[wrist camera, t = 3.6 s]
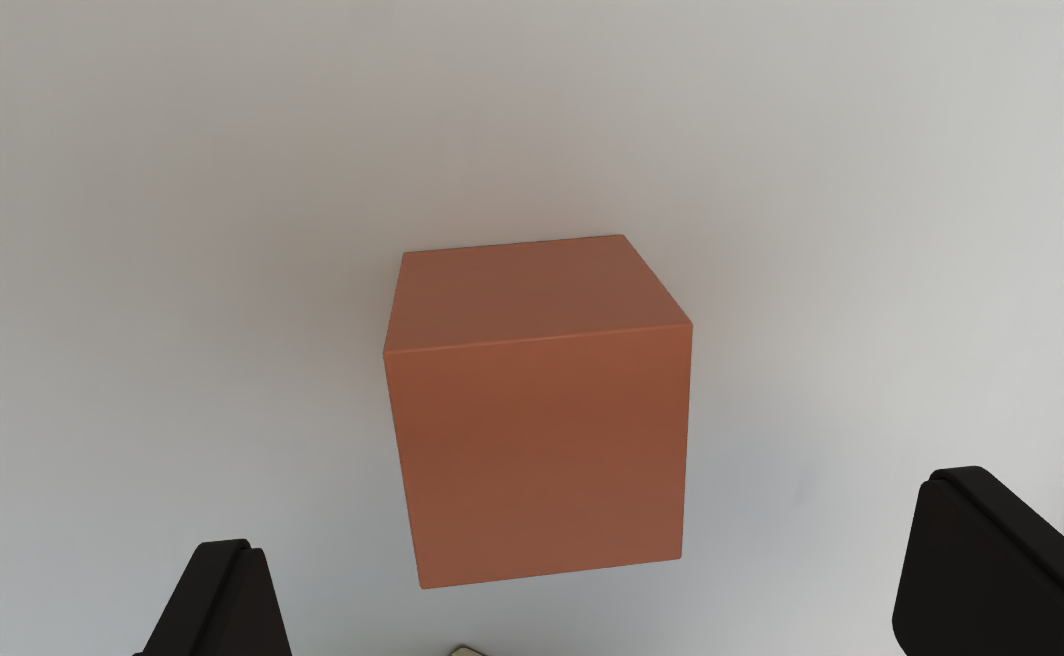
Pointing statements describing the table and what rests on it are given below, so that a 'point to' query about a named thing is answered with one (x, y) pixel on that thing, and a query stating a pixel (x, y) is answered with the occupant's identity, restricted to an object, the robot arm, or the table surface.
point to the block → (538, 409)
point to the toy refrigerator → (465, 652)
